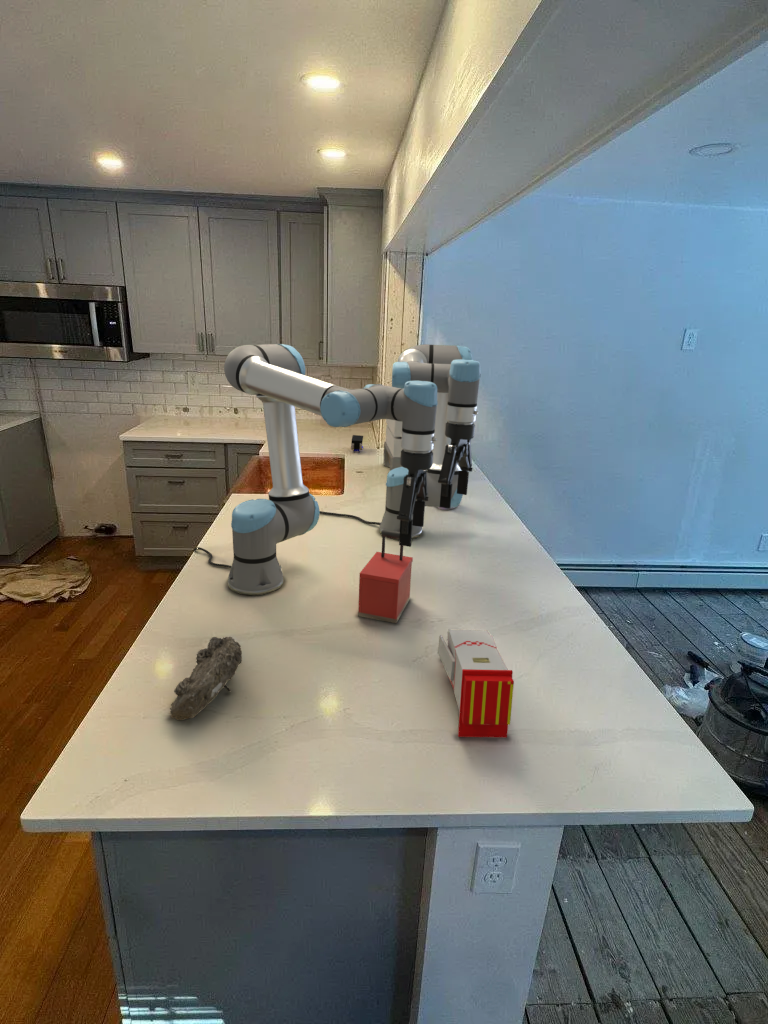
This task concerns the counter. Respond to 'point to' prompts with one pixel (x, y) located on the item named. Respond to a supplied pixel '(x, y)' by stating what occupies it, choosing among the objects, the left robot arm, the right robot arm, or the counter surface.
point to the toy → (478, 682)
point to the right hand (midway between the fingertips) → (453, 500)
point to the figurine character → (356, 443)
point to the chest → (384, 598)
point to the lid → (387, 563)
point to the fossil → (207, 677)
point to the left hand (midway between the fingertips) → (411, 535)
